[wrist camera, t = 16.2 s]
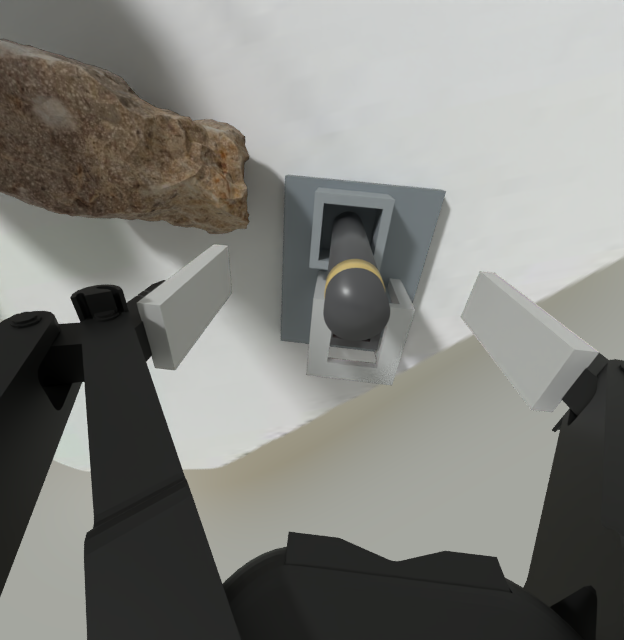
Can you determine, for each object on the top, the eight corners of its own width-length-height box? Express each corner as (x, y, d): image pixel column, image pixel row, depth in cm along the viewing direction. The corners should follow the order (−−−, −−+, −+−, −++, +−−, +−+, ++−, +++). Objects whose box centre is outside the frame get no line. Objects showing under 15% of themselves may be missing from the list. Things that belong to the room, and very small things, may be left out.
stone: (61, 177, 30) (-156, 192, 17) (34, 54, 24) (-307, -60, 12) (267, 229, 30) (213, 282, 18) (282, 121, 25) (222, 85, 12)
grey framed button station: (287, 174, 27) (269, 181, 20) (441, 189, 27) (478, 202, 20) (282, 334, 37) (268, 377, 30) (395, 347, 37) (408, 394, 29)
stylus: (334, 209, 27) (325, 278, 12) (365, 212, 27) (398, 286, 12) (330, 240, 29) (319, 337, 13) (360, 243, 29) (383, 345, 13)
